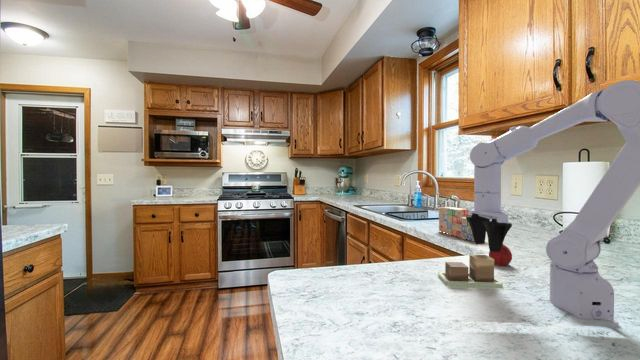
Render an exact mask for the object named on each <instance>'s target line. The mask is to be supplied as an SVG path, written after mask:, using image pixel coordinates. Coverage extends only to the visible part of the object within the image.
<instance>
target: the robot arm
mask: <svg viewBox="0 0 640 360" xmlns="http://www.w3.org/2000/svg"><path fill="white" fill-rule="evenodd" d="M608 120H610V121H611V122H612V123H614V124H615V125H616V127H617V129H618V131H619V132H620V133H621V135H622V137H623V139H624V140H625V143H624V145H623V146H622V148H620V149H621V150H619V152H618V154H617V155H616V156H615V158H614V159H613V161H612V163H611V164H610V166H609V167H608V168H607V170H606V171H605V173H604V175H602V178H600V181H599V182H598V184H597V185H596V186H595V188H594V189H593V191H592V193H591V194H590V195H589V197H588V199H587V200H586V201H585V203H584V204H583V206H582V207H581V208H580V210H579V211H578V213H577V215H576V216H575V217H574V218H573V220H571V222H570V223H568V224H567V225H566V226H565V227H564V228H563V230H562V232H561V233H560V234H558V235H556V236H554V237H552V238H551V239H550V240H549V241H548V242H547V243H546V246H545V252H546V255H547V257H548V258H549V260H550V261H549V302H550V304H552V305H553V306H555V307H558V309H559V308H560V309H562V310H564V311H566V312H567V313H569V314H571V315H572V316H575V318H578V319H580V320H581V319H585V320H607V321H608V320H609V321H610V322H612V323H614V324H615V325H617V326H619V325H620V323H619V321H617V320H615V318H614V316H615V312H614V311H615V290H614V287H613V286H612V284H611V283H610V281H608V280H606V279H605V278H604V277H603V276H602V275H600V273H599V266H597V265H598V264H597V263H596V262H595V261H594V260H596V259H597V258H599V256H600V254H601V251H602V248H601V247H602V246H601V245H602V241H603V239H604V238H605V237H606V235H607V232H608V230H609V228H610V226H611V225H612V224H613V222H614V221H615V220H616V219H617V216H618V215H620V213H621V211H622V210H623V209H624V207H625V206H626V205H627V203H628V202H629V200H630V199H631V198H632V197H633V195H634V193H635V192H636V191H637V190H638V188H639V187H640V81H638V80H633V79H629V80H621V81H620V80H619V81H617V82H615V83H612V84H611V85H609V86H607V87H606V88H605V89H599V90H597V91H594V92H591V93H590V94H588V95H587V96H585V97H583V98H582V99H580V100H578V101H576V102H574V103H573V104H571V105H569V106H567V107H565V108H563V109H561V110H560V111H558V112H555V113H554V114H552V115H550V116H549V117H547V118H545V119H542V120H541V121H539V122H537V123H536V124H534V125H532V126H525V125H519V126H515V125H514V126H512V127H509V131H507V132H506V133H504V134H501V135H500V136H498V137H492V138H490V139H489V141H488V142H478V143H476V145H474V147H473V148H472V149H471V150H470V153H469V160H470V161H471V163H472V164H473V165H474V166H473V167H474V172H473V173H474V174H473V176H474V179H473V181H474V182H473V183H474V184H473V189H474V190H473V192H474V193H473V204H474V205H473V206H470V207H469V209H468V213H469V215H468V216H466V219H467V221H468V223H469V225H470V227H471V230H472V234H473V238H474V244H476V245H484V244H485V242H486V236H487V243H488V249H489V251H491V252H500V251H501V248H502V244H504V240H505V238H506V236H507V234H508V233H509V230H511V228H512V226H513V224H512V223H511V222H509V214H507V213H505V212H504V211H502V210H501V209H502V199H501V198H502V196H501V195H502V166H503V164H504V163H505V162H506V161H508V160H510V159H512V158H515V157H517V156H520V155H522V154H524V153H526V152H529V151H531V150H533V149H536V147H537V145H538V143H539V141H540V140H542V139H544V138H547V137H549V136H552V135H555V134H557V133H560V132H562V131H565V130H566V129H569V128H571V127H574V126H577V125H579V124H581V123H585V122H590V123H591V122H601V123H602V122H605V123H606V122H608Z"/></svg>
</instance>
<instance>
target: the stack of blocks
mask: <svg viewBox="0 0 640 360" xmlns="http://www.w3.org/2000/svg"><path fill="white" fill-rule="evenodd" d="M466 216H469V209H468V208H462V207H454V206H453V207H452V206H440V207H438V232H439V231H441V232H445V233H448V234H450V235H449V236H451V235H454V236H457V237H456V238H458V237H460V238H459V239H461V238H463V239H462V240H465V239H467V240H466V241H468V240H470V241H469V242H472V241H474V238H473V234H472V230H471V227H470V225H469V223H468V221H467V219H466ZM441 232H440V233H441ZM454 236H453V237H454Z"/></svg>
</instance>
